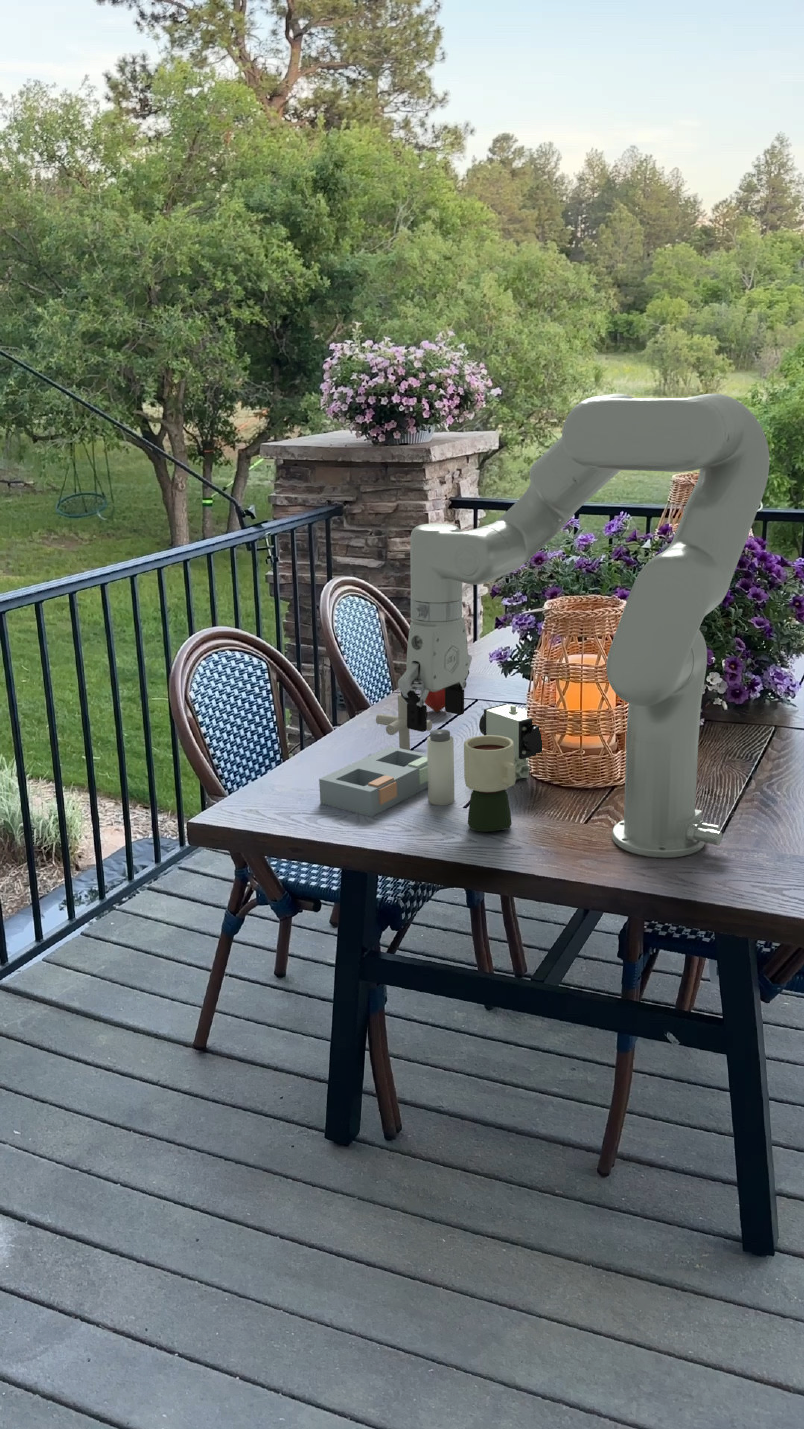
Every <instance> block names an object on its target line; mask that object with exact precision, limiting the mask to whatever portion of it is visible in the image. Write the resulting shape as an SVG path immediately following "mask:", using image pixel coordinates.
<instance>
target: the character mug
mask: <svg viewBox="0 0 804 1429" xmlns="http://www.w3.org/2000/svg"><path fill="white" fill-rule="evenodd" d="M514 762H515V756H514V743H513V740H511V739H510V738H507V737H503V736H495V735H485V736H484V735H478V736H472V737H471V738H470V737H469V738H468V739H466V740H465V741H464V742H463V764H464V765H463V767H464V768H463V769H464V772H463V773H464V776H463V777H464V782H465V787H467V788H468V789H469V790H472V791H471V794H470V799H469V805H468V813H467V814H468V815H467V817H468V818H467V824H468V827H469V828H470V829H472V830H474V831H475V832H485V833H486V832H498V831H502V830H505V829H509V828H511V826H512V825H513V823H512V813H511V807H510V800H509V794H508V792H507V790H508V788H511V787H514V786H515V785H516V781H515V765H514ZM506 789H507V790H506Z"/></svg>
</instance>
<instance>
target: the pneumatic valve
mask: <svg viewBox="0 0 804 1429" xmlns="http://www.w3.org/2000/svg"><path fill="white" fill-rule="evenodd" d="M527 711H528V710H527V709H526V708H525V707H524V708H519V707H517V705H514V704H508V703H502V704H498V705H496V706H491V707H488V708H484V709H483V713H482V715H481V717H480V719H479V722H478V726H479V727H478V729H479V731H480V733H481V734H482V736H485V735H495V736H503V737H507V738H510V739H511V740H513V743H514V756H515V762H514V765H515V782H516V781H517V780H519V779H526V778H528V777H529V773H530V767H529V764H528V763H529V759H528V758H532V757H534V756H537V755H536V753H540V752H541V751H542V740H541V734H540V731H539V726H536V725H532V719H530V718H527Z"/></svg>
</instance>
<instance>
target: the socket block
mask: <svg viewBox="0 0 804 1429" xmlns="http://www.w3.org/2000/svg"><path fill="white" fill-rule="evenodd" d="M318 782H319V784H318V785H319V786H318V787H319V799H320V800H319V801H320V804H322V805H326V806H329V807H333V808H337V809H340V810H344V811H348V812H352V813H355V814H360V815H363V816H367V817H371V818H372V817H374V816H376V815H378V814H380V813H382V812H384V811H385V810H387V809H389V808H392V807H393V806H395V805H397V804H399V803H400V802H403V801H405V800H406V799H409V798H411V797H412V796H414V795H416V794H418V793H420V792H422V791H424V790H426V789H428V763H427V753H424V752H419V751H414V750H411V749H410V750H406V749H401V748H399V747H396V746H391V745H390V746H388V747H386V748H384V749H382V750H379V751H377V752H376V753H372V754H371V755H368V756H366V757H364V758H362V759H359V760H358V761H356V762H352V763H351V764H349V765H346V766H344V767H341V768H340V769H337V770H336V771H334V772H331V773H329V774H327V775H324V776H322V777H319V779H318Z"/></svg>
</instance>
